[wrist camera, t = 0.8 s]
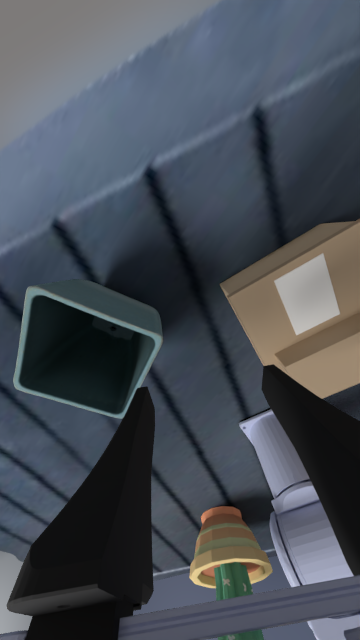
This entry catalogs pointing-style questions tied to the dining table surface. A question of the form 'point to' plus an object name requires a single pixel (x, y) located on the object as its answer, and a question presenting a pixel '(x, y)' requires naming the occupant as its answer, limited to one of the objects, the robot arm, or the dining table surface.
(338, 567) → the robot arm
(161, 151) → the dining table surface
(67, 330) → the flower pot
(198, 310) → the dining table surface
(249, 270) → the box
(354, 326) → the mailer lid
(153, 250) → the dining table surface
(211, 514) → the potted cactus
